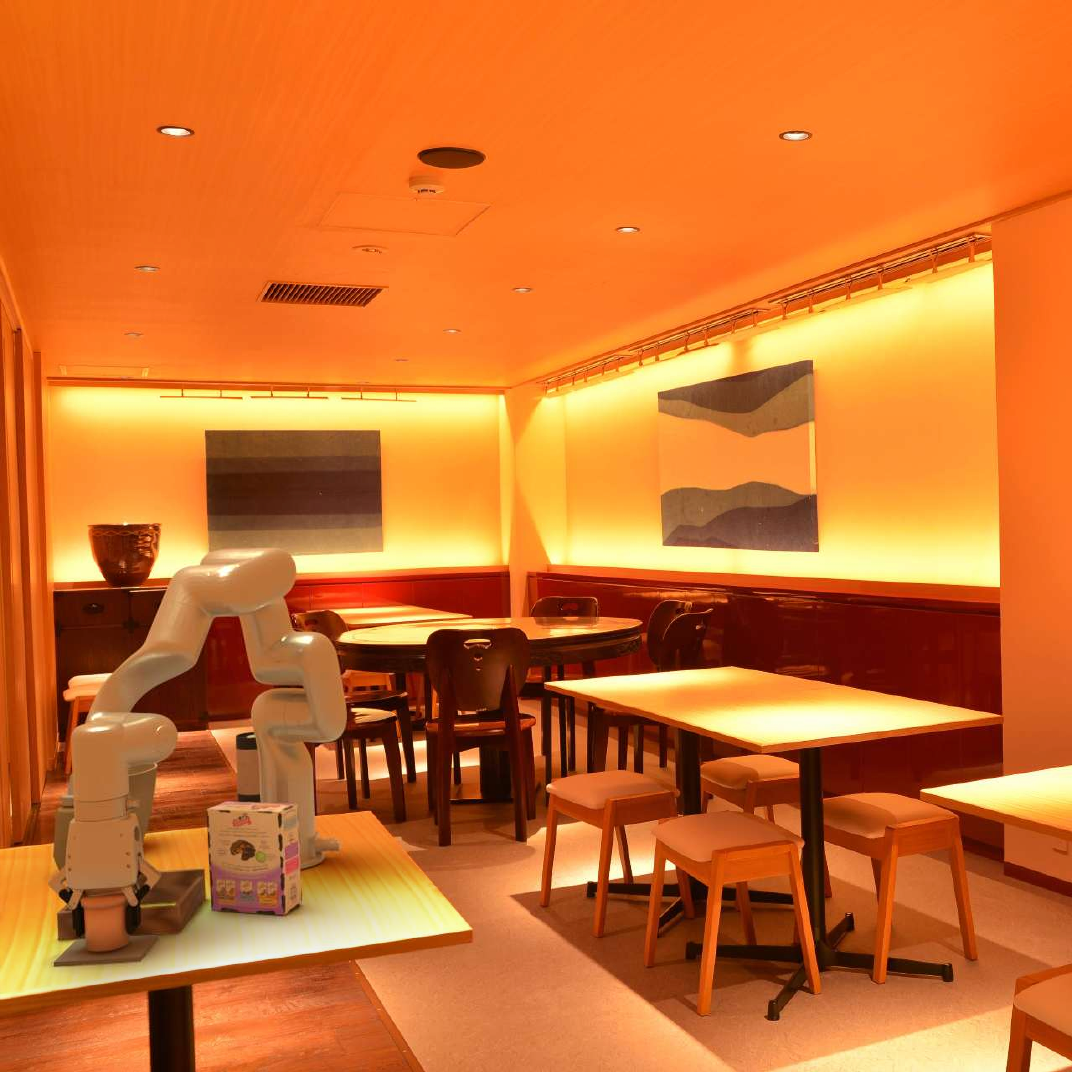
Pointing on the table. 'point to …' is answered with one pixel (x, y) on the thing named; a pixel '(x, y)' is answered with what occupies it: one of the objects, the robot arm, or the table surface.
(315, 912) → the table surface
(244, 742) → the travel mug
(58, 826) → the squeeze bottle
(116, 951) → the mat
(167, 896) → the frame
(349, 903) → the table surface
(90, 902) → the terracotta pot
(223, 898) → the candy box
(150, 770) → the plant pot
